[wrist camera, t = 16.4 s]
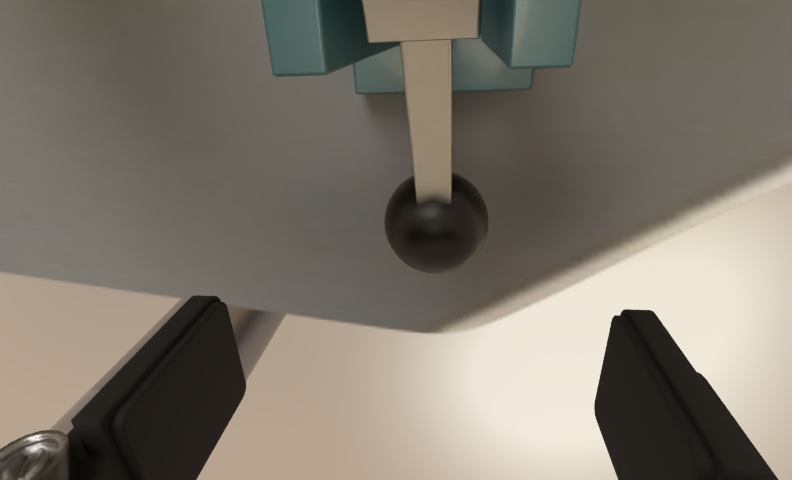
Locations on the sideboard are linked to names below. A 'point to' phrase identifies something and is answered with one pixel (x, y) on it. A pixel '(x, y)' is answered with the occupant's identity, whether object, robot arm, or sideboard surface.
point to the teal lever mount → (381, 62)
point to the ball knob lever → (430, 133)
